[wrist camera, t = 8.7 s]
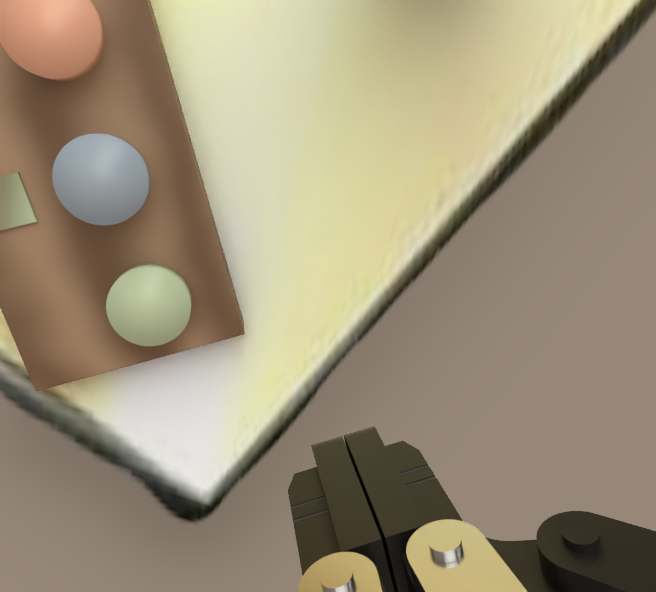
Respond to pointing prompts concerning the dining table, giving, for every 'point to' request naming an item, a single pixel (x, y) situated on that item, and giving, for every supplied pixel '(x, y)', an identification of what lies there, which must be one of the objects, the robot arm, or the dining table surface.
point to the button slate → (101, 179)
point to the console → (97, 240)
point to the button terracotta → (52, 36)
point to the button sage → (149, 304)
